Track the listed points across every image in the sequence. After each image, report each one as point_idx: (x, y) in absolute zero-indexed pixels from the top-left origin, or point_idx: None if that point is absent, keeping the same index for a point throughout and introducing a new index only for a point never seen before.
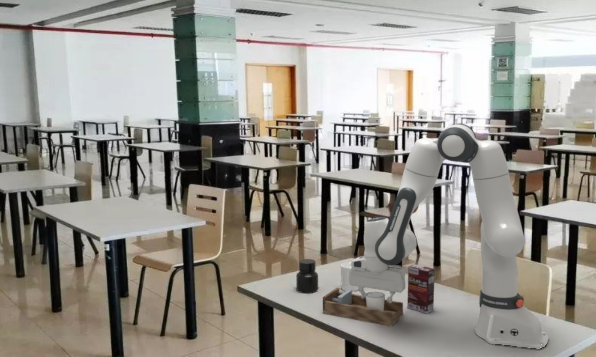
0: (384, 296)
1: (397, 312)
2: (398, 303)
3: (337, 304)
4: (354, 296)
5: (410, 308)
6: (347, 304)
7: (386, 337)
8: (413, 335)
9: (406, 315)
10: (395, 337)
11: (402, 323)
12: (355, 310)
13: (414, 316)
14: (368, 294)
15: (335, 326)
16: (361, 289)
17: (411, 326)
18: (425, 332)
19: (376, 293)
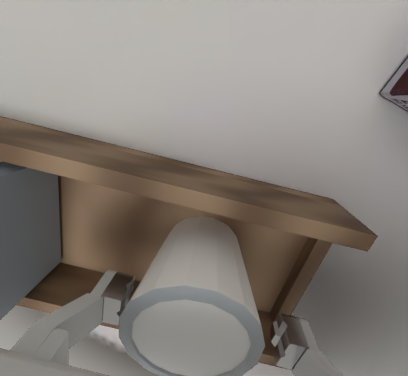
0: (260, 350)
1: (313, 258)
2: (341, 243)
3: (20, 302)
4: (35, 165)
5: (398, 104)
6: (49, 212)
7: (259, 373)
8: (346, 358)
9: (351, 204)
10: (286, 371)
11: (319, 286)
12: None
13: (391, 209)
14: (140, 339)
15: (96, 331)
16: (64, 363)
17: (353, 304)
18: (396, 338)
19: (193, 317)
